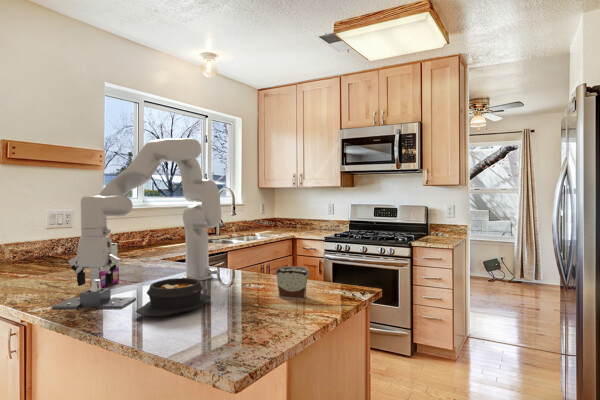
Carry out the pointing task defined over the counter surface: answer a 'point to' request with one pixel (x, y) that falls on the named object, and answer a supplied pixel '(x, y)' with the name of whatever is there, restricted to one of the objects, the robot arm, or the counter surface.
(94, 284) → the pin
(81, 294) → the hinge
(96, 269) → the candy bar box
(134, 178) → the robot arm
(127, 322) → the counter surface
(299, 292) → the food container
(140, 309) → the casserole
